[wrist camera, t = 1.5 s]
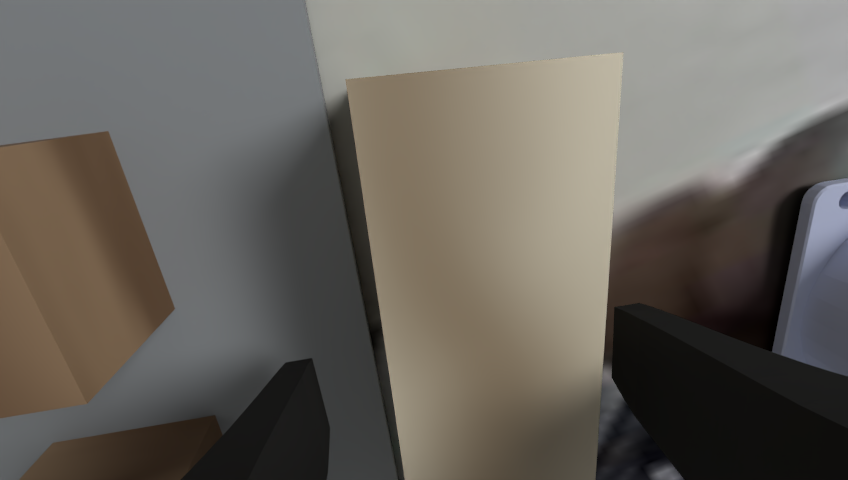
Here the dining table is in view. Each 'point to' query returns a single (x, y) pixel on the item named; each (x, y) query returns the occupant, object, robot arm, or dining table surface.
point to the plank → (492, 259)
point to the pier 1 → (70, 273)
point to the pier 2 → (130, 453)
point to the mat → (206, 210)
